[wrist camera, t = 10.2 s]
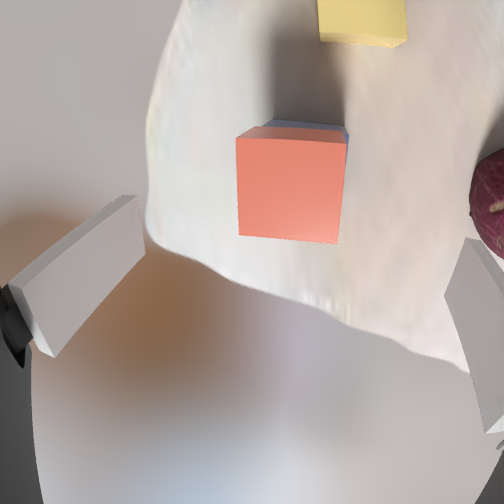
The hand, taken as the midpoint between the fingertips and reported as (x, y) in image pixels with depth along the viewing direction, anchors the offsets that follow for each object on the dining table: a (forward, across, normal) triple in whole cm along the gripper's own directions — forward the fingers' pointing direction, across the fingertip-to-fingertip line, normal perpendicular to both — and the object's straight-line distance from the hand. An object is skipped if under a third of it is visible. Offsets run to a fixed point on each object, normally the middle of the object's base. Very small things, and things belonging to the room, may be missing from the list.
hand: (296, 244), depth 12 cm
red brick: (+12, -1, 0) cm, 12 cm away
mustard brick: (+17, +3, +13) cm, 21 cm away
